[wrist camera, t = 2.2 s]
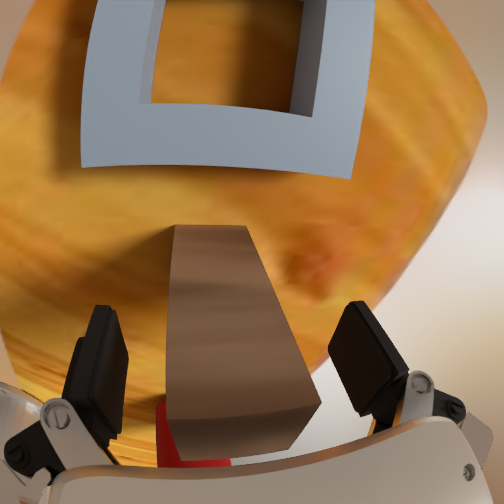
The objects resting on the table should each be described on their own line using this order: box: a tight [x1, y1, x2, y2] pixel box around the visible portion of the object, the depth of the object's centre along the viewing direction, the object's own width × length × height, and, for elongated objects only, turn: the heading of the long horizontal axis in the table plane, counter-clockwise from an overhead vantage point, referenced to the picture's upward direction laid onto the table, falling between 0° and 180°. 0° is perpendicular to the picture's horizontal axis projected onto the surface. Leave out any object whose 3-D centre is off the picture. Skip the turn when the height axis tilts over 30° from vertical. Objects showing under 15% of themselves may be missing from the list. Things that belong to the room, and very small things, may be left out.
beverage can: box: [156, 400, 231, 468], centre depth 19 cm, size 7×7×12 cm
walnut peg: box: [166, 225, 322, 461], centre depth 11 cm, size 4×4×11 cm
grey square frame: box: [81, 0, 375, 179], centre depth 9 cm, size 12×12×3 cm
